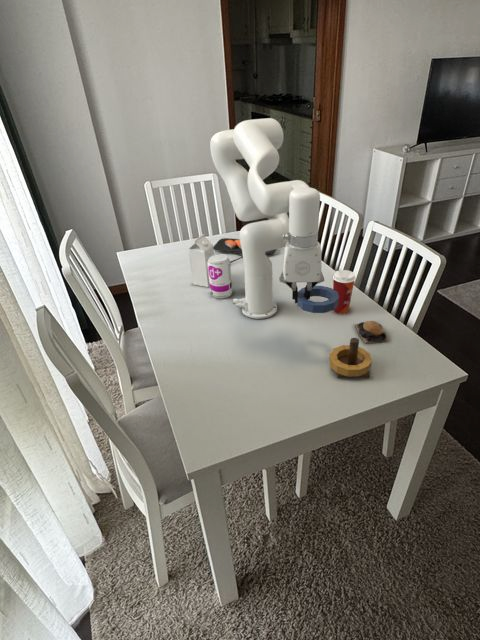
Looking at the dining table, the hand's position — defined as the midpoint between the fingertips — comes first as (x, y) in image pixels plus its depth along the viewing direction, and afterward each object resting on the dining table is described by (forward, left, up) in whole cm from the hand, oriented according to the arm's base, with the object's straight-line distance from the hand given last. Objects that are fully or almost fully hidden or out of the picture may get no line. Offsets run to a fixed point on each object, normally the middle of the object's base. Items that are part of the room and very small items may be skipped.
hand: (301, 300), depth 117 cm
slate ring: (+5, 0, -1) cm, 5 cm away
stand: (+15, -9, -17) cm, 25 cm away
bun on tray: (+24, +9, -18) cm, 31 cm away
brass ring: (+14, -9, -16) cm, 23 cm away
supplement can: (-28, +36, -18) cm, 49 cm away
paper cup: (+16, +24, -18) cm, 34 cm away
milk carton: (-36, +46, -18) cm, 61 cm away
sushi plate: (-23, +72, -18) cm, 78 cm away
